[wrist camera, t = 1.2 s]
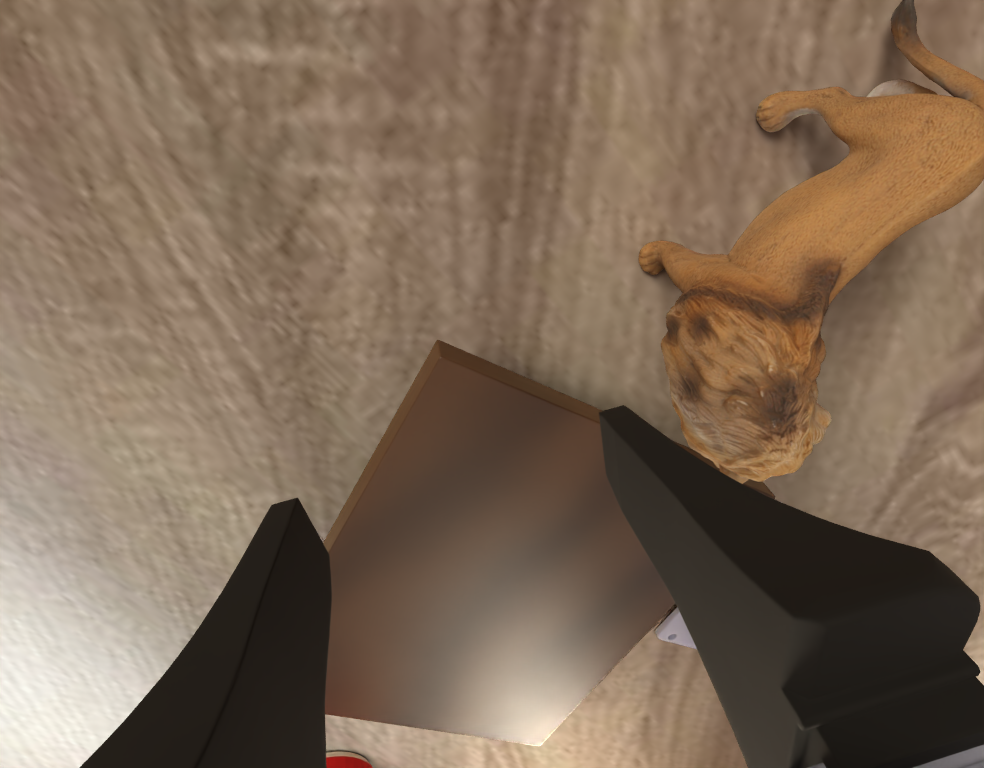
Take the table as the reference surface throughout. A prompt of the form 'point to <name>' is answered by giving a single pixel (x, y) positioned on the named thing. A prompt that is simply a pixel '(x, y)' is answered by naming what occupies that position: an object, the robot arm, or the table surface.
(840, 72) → the table surface
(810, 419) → the lion figurine
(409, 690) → the board
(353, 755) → the beverage can
